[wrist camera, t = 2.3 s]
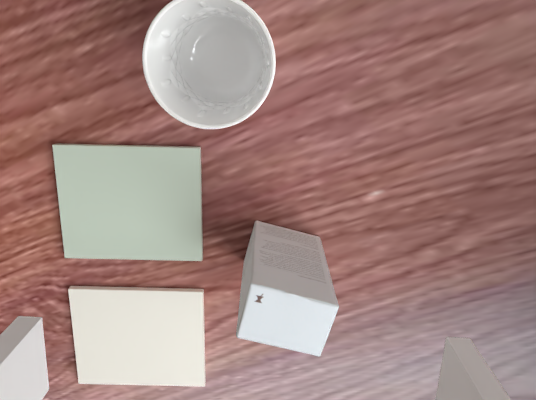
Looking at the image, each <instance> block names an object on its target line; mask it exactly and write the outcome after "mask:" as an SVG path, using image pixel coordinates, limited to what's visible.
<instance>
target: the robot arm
mask: <svg viewBox="0 0 536 400" xmlns="http://www.w3.org/2000/svg"><path fill="white" fill-rule="evenodd" d="M48 390H49V382H48V372H47V362H46V352H45V342H44V332H43V323H42V317H26V316H18V317H17V318H16V319H15V320H14V321H13V322H12V323H11V324H10V325H9V326H8V327H7V328H6V330H5V331H4V332H3V333H2V334H1V335H0V400H42V399H43V397H44V396H45V394H46V393H47V391H48ZM435 400H511V399H510V397H509V396H508V394H507V393H506V391H505V390H504V388H503V387H502V385H501V384H500V382H499V381H498V379H497V378H496V376H495V375H494V373H493V372H492V370H491V369H490V368H489V366H488V365H487V363H486V362H485V360H484V359H483V357H482V356H481V354H480V353H479V351H478V350H477V348H476V347H475V345H474V344H473V342H472V341H471V339H470V338H457V337H446V341H445V347H444V353H443V358H442V364H441V370H440V376H439V382H438V387H437V393H436V399H435Z"/></svg>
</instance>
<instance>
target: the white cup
mask: <svg viewBox="0 0 536 400" xmlns="http://www.w3.org/2000/svg"><path fill="white" fill-rule="evenodd" d="M142 63H143V71H144V75H145V79H146V82H147V84H148V87H149V89H150V91H151V93H152V95H153V96H154V98H155V99H156V101H157V102H158V103H159V105H160V106H161V107H162V108H163V109H164V110H165V111H166V112H167V113H169V114H170V115H171V116H172V117H174V118H175V119H177V120H179V121H181V122H183V123H185V124H187V125H190V126H193V127H197V128H202V129H221V128H226V127H230V126H233V125H235V124H238V123H240V122H242V121H243V120H245V119H247V118H248V117H249V116H251V115H252V114H253V113H254V112H255V111H256V110H257V109H258V108H259V107H260V106H261V105H262V103H263V102H264V100H265V99H266V97H267V95H268V93H269V91H270V89H271V86H272V83H273V80H274V75H275V67H276V58H275V50H274V45H273V41H272V38H271V36H270V33H269V31H268V29H267V27H266V25H265V24H264V22H263V21H262V19H261V18H260V17H259V16H258V14H257V13H256V12H255V11H254V10H253V9H252V8H251V7H249V6H248V5H247V4H246V3H244V2H243V1H241V0H173V1H171V2H170V3H168V4H167V5H166V6H165V7H164V8H163V9H162V10H161V11H160V12H159V13H158V14H157V15H156V17H155V18H154V20H153V21H152V23H151V25H150V27H149V29H148V31H147V34H146V36H145V40H144V45H143V52H142Z"/></svg>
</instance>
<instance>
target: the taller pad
mask: <svg viewBox="0 0 536 400" xmlns="http://www.w3.org/2000/svg"><path fill="white" fill-rule="evenodd" d="M68 292H69V301H70V310H71V319H72V328H73V337H74V346H75V355H76V364H77V373H78V382H79V384H112V385H156V386H200V387H205V383H206V382H205V332H204V289H189V288H144V287H99V286H70V287H69V289H68Z"/></svg>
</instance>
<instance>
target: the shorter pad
mask: <svg viewBox="0 0 536 400" xmlns="http://www.w3.org/2000/svg"><path fill="white" fill-rule="evenodd" d="M52 146H53V155H54V164H55V174H56V183H57V192H58V201H59V210H60V219H61V228H62V237H63V246H64V255H65V258H87V259H132V260H177V261H202V260H203V233H202V183H201V147H191V146H145V145H99V144H53V145H52Z"/></svg>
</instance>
